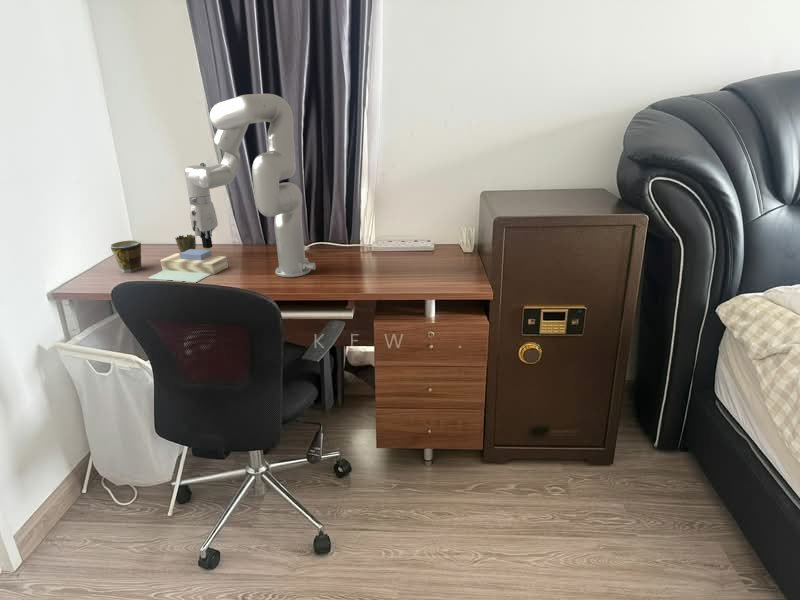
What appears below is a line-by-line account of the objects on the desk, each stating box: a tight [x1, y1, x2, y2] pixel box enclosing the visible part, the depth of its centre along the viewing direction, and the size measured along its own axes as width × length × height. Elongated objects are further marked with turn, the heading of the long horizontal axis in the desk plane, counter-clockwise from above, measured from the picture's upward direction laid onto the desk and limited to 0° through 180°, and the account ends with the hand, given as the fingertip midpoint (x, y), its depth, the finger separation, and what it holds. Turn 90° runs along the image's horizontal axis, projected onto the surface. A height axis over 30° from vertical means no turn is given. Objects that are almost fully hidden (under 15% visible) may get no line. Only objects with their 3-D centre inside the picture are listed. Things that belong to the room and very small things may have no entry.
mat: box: [146, 270, 211, 283], centre depth 185 cm, size 20×9×1 cm, turn 74°
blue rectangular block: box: [179, 248, 212, 260], centre depth 193 cm, size 9×6×2 cm, turn 74°
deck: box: [160, 252, 229, 276], centre depth 193 cm, size 22×9×4 cm, turn 74°
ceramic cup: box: [109, 239, 142, 273], centre depth 191 cm, size 13×10×10 cm
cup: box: [174, 233, 197, 253], centre depth 207 cm, size 8×7×8 cm
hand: (207, 247), depth 200 cm, fingers closed
